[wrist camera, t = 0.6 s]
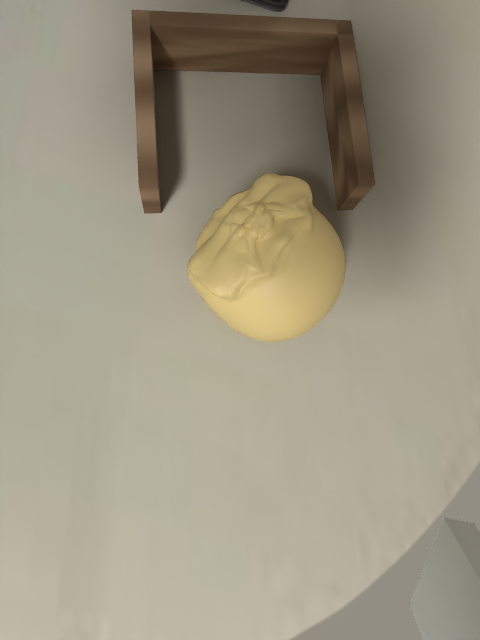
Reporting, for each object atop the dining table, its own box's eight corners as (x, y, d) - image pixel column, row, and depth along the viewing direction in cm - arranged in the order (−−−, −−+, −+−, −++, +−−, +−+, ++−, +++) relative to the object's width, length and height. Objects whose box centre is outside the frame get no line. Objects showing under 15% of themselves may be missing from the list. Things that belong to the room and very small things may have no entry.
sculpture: (244, 199, 40) (265, 127, 29) (344, 276, 40) (401, 232, 29) (167, 289, 37) (161, 246, 27) (274, 372, 37) (309, 362, 27)
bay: (352, 209, 41) (375, 184, 36) (144, 213, 38) (138, 186, 33) (332, 62, 44) (351, 20, 39) (137, 55, 41) (131, 9, 36)
